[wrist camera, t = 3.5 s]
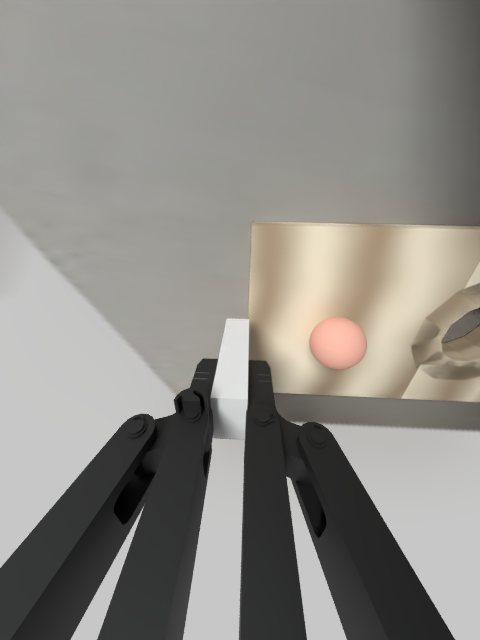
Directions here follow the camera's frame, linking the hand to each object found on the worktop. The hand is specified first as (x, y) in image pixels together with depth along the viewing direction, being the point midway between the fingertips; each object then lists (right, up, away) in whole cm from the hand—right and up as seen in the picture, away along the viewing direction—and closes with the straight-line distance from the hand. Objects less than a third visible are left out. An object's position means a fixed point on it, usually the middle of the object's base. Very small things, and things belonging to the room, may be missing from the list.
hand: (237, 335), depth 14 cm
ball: (+7, 0, -1) cm, 7 cm away
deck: (+13, +1, +3) cm, 13 cm away
